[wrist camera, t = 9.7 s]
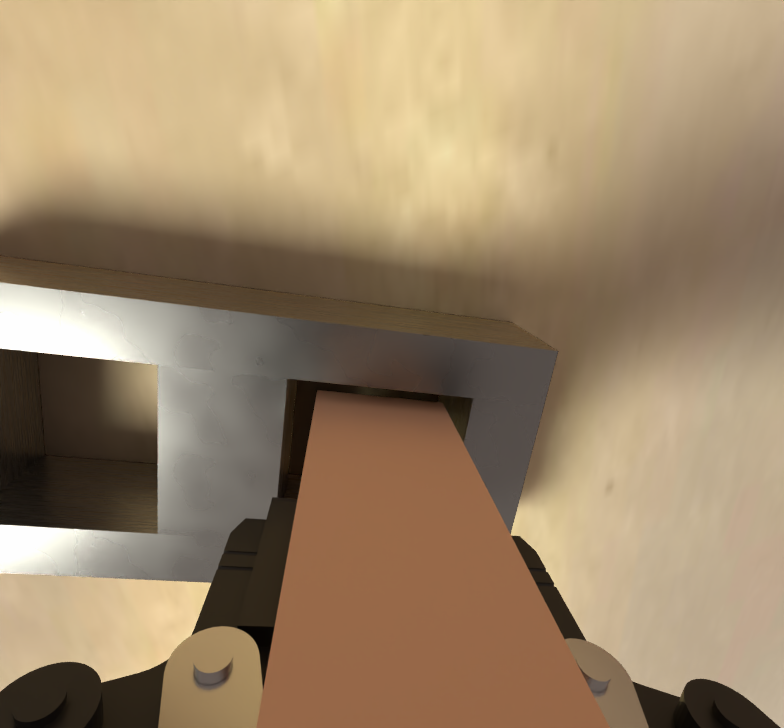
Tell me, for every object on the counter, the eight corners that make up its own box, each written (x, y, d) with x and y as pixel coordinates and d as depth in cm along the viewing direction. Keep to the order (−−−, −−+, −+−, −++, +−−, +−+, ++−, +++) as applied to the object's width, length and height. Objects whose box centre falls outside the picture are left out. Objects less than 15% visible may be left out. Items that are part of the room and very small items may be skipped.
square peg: (305, 501, 15) (183, 1317, 4) (317, 390, 14) (192, 1086, 3) (422, 509, 16) (613, 1253, 4) (442, 402, 15) (769, 1037, 3)
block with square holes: (-17, 491, 17) (-119, 567, 14) (-47, 249, 15) (-183, 260, 11) (466, 524, 20) (494, 595, 16) (511, 322, 17) (558, 351, 14)
